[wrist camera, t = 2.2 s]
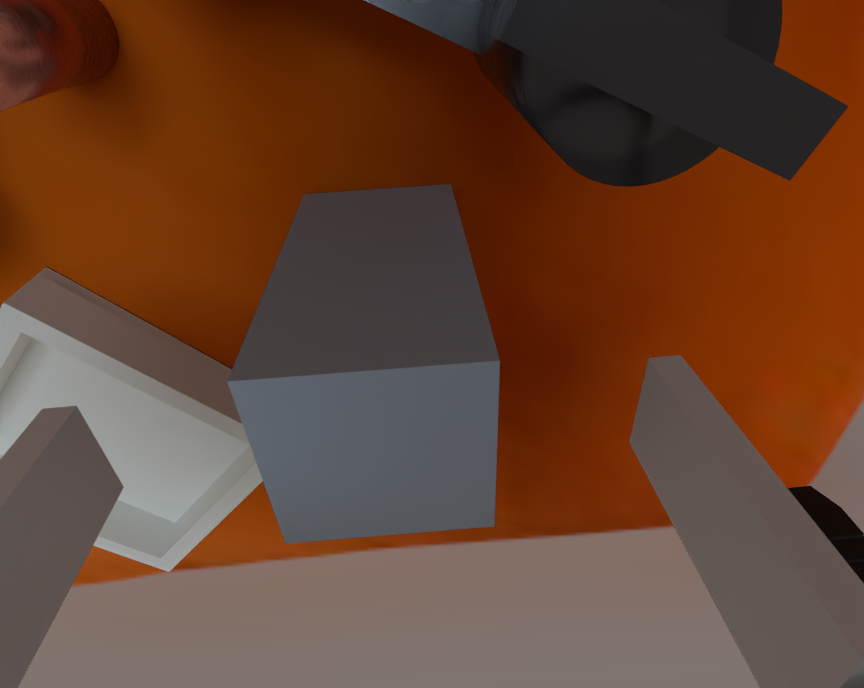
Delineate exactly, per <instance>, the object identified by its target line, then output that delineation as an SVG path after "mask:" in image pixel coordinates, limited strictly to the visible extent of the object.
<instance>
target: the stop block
mask: <svg viewBox="0 0 864 688" xmlns="http://www.w3.org/2000/svg"><path fill="white" fill-rule="evenodd" d="M499 377H500V359H499V355H498V351H497V348H496V344H495V341H494V337H493V333H492V330H491V326H490V323H489V319H488V316H487V312H486V308H485V305H484V301H483V298H482V294H481V290H480V287H479V283H478V280H477V276H476V272H475V269H474V265H473V262H472V258H471V254H470V251H469V247H468V244H467V240H466V236H465V233H464V229H463V226H462V222H461V218H460V215H459V211H458V208H457V204H456V200H455V197H454V193H453V190H452V186H451V184H441V185H427V186H412V187H398V188H384V189H369V190H355V191H340V192H326V193H312V194H304V195H303V197H302V200H301V202H300V205H299V207H298V210H297V212H296V215H295V217H294V219H293V222H292V224H291V227H290V229H289V232H288V234H287V237H286V239H285V241H284V244H283V246H282V249H281V251H280V254H279V256H278V259H277V261H276V263H275V266H274V268H273V271H272V273H271V276H270V278H269V281H268V283H267V285H266V288H265V290H264V293H263V295H262V298H261V300H260V302H259V305H258V307H257V310H256V312H255V315H254V317H253V320H252V322H251V324H250V327H249V329H248V332H247V334H246V337H245V339H244V342H243V344H242V346H241V349H240V351H239V354H238V356H237V359H236V361H235V364H234V366H233V368H232V371H231V373H230V376H229V378H228V381H227V383H228V385H229V388H230V391H231V394H232V397H233V399H234V402H235V405H236V408H237V410H238V413H239V416H240V419H241V421H242V424H243V427H244V430H245V433H246V435H247V438H248V441H249V444H250V446H251V449H252V452H253V455H254V458H255V460H256V463H257V466H258V469H259V471H260V474H261V477H262V480H263V482H264V485H265V488H266V491H267V494H268V496H269V499H270V502H271V505H272V507H273V510H274V513H275V516H276V519H277V521H278V524H279V527H280V530H281V532H282V535H283V538H284V541H285V544H288V543H300V542H312V541H324V540H336V539H348V538H360V537H372V536H384V535H396V534H408V533H420V532H432V531H444V530H456V529H467V528H479V527H491V526H495V497H496V467H497V437H498V407H499Z"/></svg>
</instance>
